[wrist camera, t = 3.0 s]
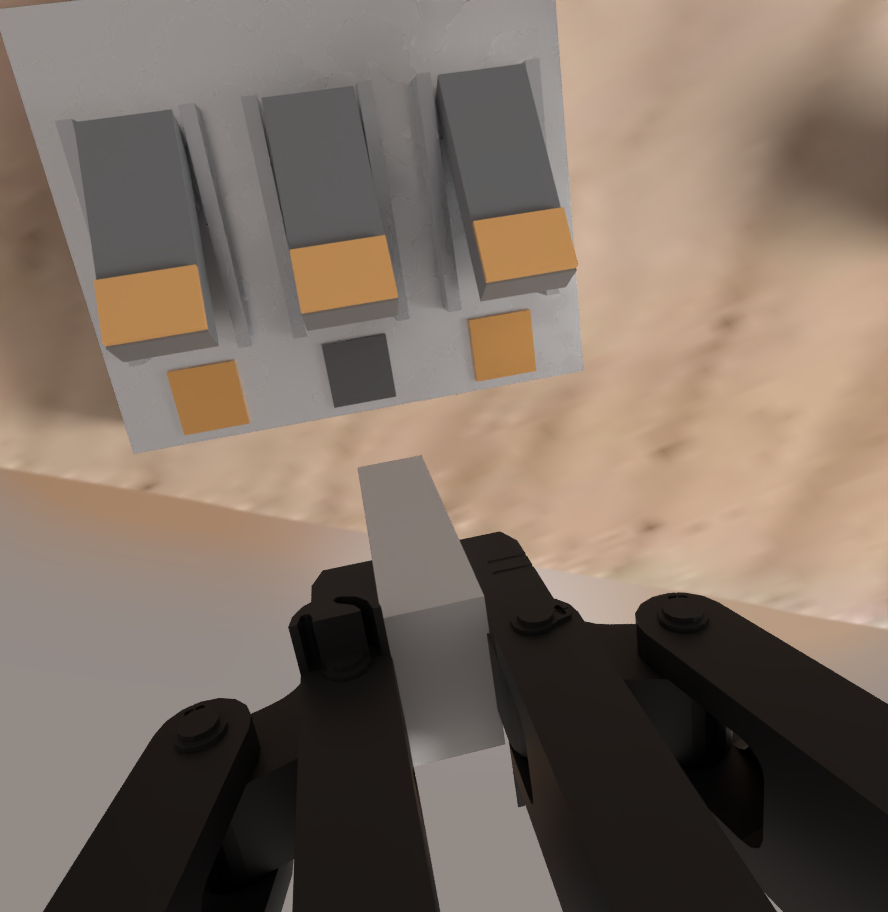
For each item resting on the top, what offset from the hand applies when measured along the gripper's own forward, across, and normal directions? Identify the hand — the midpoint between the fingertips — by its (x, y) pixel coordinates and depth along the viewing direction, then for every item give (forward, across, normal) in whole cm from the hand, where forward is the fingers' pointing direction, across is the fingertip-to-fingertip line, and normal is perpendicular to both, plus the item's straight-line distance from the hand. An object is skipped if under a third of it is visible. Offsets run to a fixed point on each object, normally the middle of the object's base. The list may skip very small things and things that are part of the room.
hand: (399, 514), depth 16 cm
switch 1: (+14, -7, +7) cm, 17 cm away
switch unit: (+22, 0, +7) cm, 23 cm away
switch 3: (+14, +7, +7) cm, 17 cm away
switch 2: (+14, 0, +7) cm, 16 cm away
